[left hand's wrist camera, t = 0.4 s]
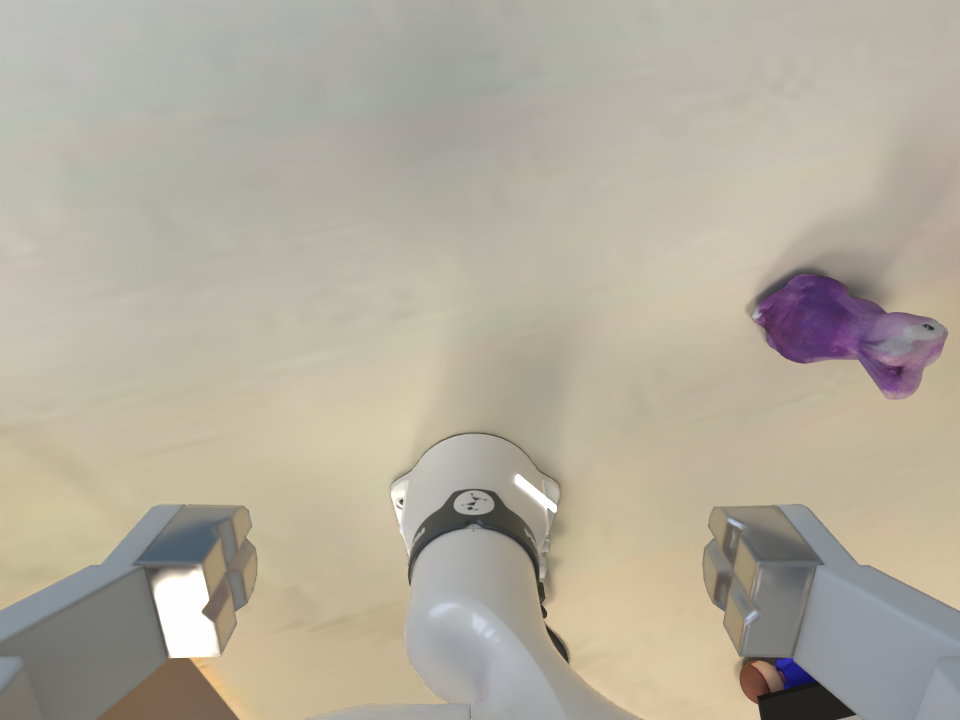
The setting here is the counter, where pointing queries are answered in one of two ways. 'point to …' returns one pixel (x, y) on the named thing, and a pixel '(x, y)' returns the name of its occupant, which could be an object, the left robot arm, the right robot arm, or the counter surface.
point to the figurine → (850, 332)
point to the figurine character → (789, 692)
